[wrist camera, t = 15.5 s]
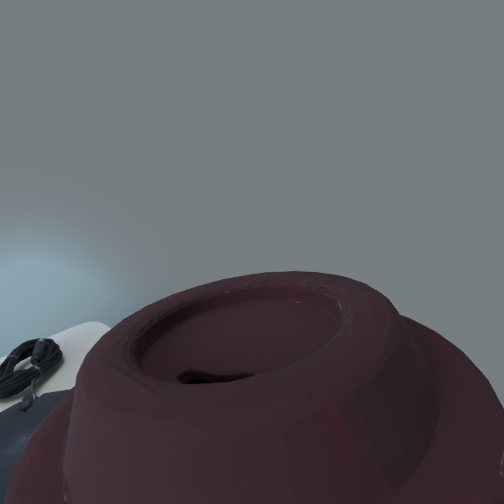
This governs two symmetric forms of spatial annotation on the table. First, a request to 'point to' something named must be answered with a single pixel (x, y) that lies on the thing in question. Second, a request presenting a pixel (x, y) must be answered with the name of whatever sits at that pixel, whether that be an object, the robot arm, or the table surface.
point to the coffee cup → (269, 405)
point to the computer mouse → (24, 402)
